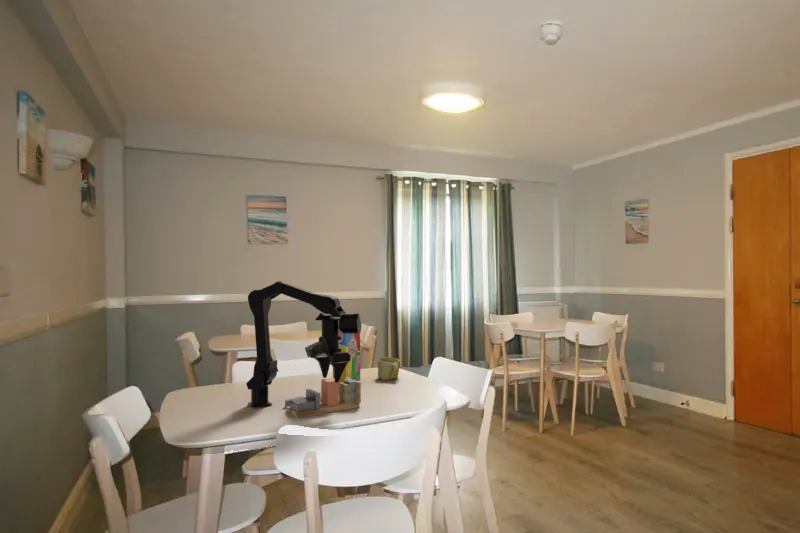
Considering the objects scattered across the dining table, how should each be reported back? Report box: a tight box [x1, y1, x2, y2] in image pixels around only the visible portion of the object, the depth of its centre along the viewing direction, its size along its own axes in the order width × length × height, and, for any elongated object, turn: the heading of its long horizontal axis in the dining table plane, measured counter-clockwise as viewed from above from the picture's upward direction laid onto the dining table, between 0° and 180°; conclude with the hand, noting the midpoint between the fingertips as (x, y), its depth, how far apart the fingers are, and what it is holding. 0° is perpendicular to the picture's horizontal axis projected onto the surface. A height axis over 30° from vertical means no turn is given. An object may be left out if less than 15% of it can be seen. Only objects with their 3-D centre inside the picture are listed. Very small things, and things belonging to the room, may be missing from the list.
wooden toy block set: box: [285, 377, 362, 418], centre depth 169 cm, size 10×22×8 cm, turn 123°
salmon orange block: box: [320, 377, 339, 406], centre depth 170 cm, size 5×4×8 cm
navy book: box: [284, 395, 304, 408], centre depth 173 cm, size 5×7×2 cm
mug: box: [377, 356, 401, 381], centre depth 217 cm, size 12×10×10 cm
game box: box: [332, 315, 361, 383], centre depth 206 cm, size 21×6×27 cm, turn 168°
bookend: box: [289, 388, 321, 412], centre depth 165 cm, size 8×8×5 cm
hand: (330, 380), depth 170 cm, fingers open, 9 cm apart
